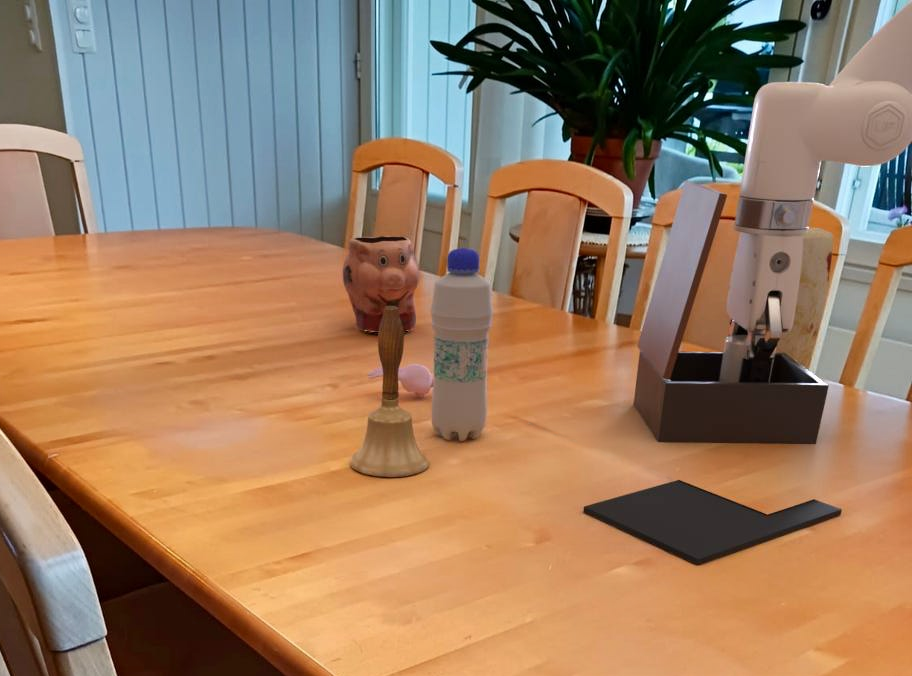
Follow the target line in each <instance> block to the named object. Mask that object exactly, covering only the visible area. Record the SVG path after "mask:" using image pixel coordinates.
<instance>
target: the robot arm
mask: <svg viewBox="0 0 912 676" xmlns="http://www.w3.org/2000/svg"><path fill="white" fill-rule="evenodd" d="M749 125H750V126H749V130H748V137H747V144H746V149H745V156H744V163H743V170H742V175H741V182H740V188H739V193H738V194H739V196H738V200H737V207H736V212H735V213H736V214H735V219H734V226H733V230H734V231H736V232H739V236H738V242H737V244H736V249H735V250H736V251H735V254H734V259H733V265H732V270H731V275H730V280H729V285H728V286H729V287H728V293H727V301H726V313H727V316H728V318H730V320H729V326H730V327H729V330H728V333H727V337H729V336H734V335H748V337H747V352H746V358H742V364H741V370H740V376H739V382H751V383H769V378H770V372H771V367H772V361H773V359H774V356H775V348H776V347H777V344H778V341H779V340H780V338H781V336H782V332H784V333H786V332H788V331H790V330H791V328H792V326H793V321H794V315H795V309H796V302H797V295H798V288H799V281H800V274H801V265H802V253H803V235H804V234H807V232H808V228H810V227H809V225H810V221H811V216H812V211H813V207H814V206H813V205H814V200H815V195H816V189H817V185H818V179H819V174H820V168H821V164H822V162H823V161H824V162H825V161H826V162H833V163H839V164H846V165H851V166H857V167H865V168H866V167H876V166H880V165H883V164H886V163H889V162H891V161H892V160H894V159H895V158H897V157H898V156H900V155H901V154H903V152H905V150H906V149H907V148H908V147H909V146H910V144H911V143H912V0H909V2H907V3H906V4H905V5H904V6H903V7H901V9H899V11H897V12H896V13H895V14H894V15H893V16H892V17H891V18H890V19H888V20H887V22H885V24H883V25H882V26H881V27H880V28H879V29H878V30H877V31H876V33H874V34H873V35H872V36H871V37H870V38H869V40H868V41H867V42H866V43H865V44H863V46H862V47H861V48H860V49H859V50H858V51H857V52H856V54H855V55H854V56H853V57H852V58H851V59H850V61H848V63H847V64H846V65H845V66H844V67H843V68H842V69H841V70H840V72H839V73H837V75H836V77H834V79H833V80H832V81H831V82H830V83H829V85H826V84H824V83H820V82H807V81H806V82H805V81H804V82H803V81H784V82H783V81H776V82H775V81H774V82H769V83H766V84H764V85H762V86H761V87H760V88H759V89H758V91H757V93H756V94H755V97H754V101H753V106H752V112H751V117H750V124H749ZM758 325H766V329H757V327H758ZM756 336H764V337H763V338H760V339H759V340H758V341H757V343H756V345H755V339H756Z"/></svg>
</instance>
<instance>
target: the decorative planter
mask: <svg viewBox="0 0 912 676" xmlns="http://www.w3.org/2000/svg"><path fill="white" fill-rule="evenodd" d="M419 265H420V264H419V263H418V260H417V257H416V254H415V251H414V248H413V243H412V241H411V240H410V239H409V238H408V237H404V236H400V235H399V236H398V235H380V236H360V237H352V238H350V240H349V243H348V253H347V255H346V257H345V259H344V263H343V266H342V281H343V286H344V289H345V291H346V293H347V296H348V299H349V302H350V305H351V309H352V311H353V314H354V316H355V317H354V318H355V323H356V326H358V327H359V328H361V329H362V330H361V329H360V330H361V331H363V330H367V331H374V332H379V327H380V323H381V321H382V317H383V314H384V310H385V307H386V306H396V307H398V312H399V317H400V320H401V323H402V327H403V331H407V330H411V329H413V328H414V329H415V327H416V322H417V314H416V305H415V293H416V291H417V289H418V288H419V285H420V280H421V274H420V273H421V272H420V266H419ZM358 327H357V328H358ZM359 328H358V329H359ZM414 329H413V330H414Z"/></svg>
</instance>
